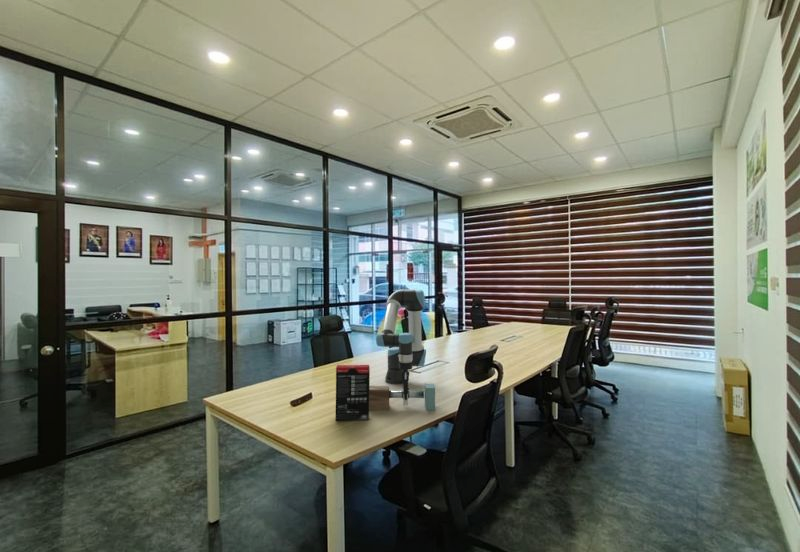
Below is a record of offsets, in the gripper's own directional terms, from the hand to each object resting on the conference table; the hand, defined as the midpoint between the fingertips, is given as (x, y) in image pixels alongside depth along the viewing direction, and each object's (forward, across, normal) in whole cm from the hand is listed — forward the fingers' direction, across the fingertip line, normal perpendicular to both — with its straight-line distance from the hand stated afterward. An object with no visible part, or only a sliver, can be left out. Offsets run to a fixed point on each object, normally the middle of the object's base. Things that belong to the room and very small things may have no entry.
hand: (405, 403), depth 201 cm
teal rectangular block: (+2, 0, +13) cm, 14 cm away
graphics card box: (+2, +16, -27) cm, 32 cm away
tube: (-3, 0, -3) cm, 4 cm away
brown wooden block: (+2, 0, -15) cm, 15 cm away
